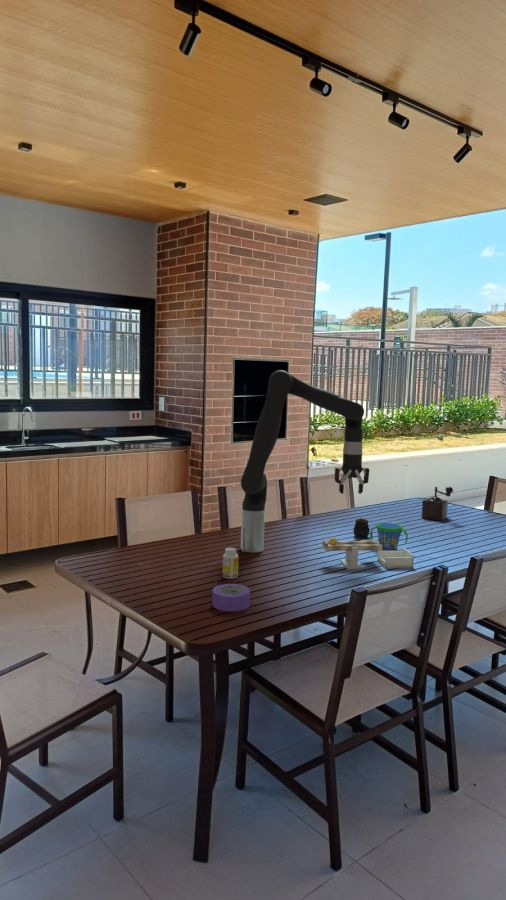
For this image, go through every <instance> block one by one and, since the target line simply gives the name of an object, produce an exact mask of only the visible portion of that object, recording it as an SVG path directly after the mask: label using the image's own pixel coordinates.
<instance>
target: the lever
mask: <svg viewBox="0 0 506 900" xmlns="http://www.w3.org/2000/svg"><path fill="white" fill-rule="evenodd" d="M321 543H322V545H321V546H322V548H323V549H324V550H325V552H334V551H335V552H340V551H341V552H342V551H343V552H344V551H345V552H346V551H351V548H352V547H358V552H359V551H363V552H364V551H368V552H369V551H370V552H371V551H375V552H376V551H383V550H382V545H379V541H378V540H374V539H360V541H356V540H355V541H353V540H352V541H337V544H336V545H330V543H329V541H326V539H322V542H321Z"/></svg>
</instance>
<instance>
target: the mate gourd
mask: <svg viewBox="0 0 506 900" xmlns="http://www.w3.org/2000/svg"><path fill="white" fill-rule="evenodd" d="M354 522H355V523H354V528H353V535H354V537H356V538H357V539H366V538H367V537H369V536H370V532H371V530H370V527H369V520H368V519H366V518H362V517H360V518H356V519H355V521H354Z"/></svg>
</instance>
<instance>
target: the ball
mask: <svg viewBox="0 0 506 900" xmlns="http://www.w3.org/2000/svg"><path fill="white" fill-rule="evenodd" d="M328 542H329V543H330V545H336V544H337V542H338V538H336V537H330V538H329V540H328Z"/></svg>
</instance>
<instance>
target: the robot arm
mask: <svg viewBox="0 0 506 900" xmlns="http://www.w3.org/2000/svg"><path fill="white" fill-rule="evenodd" d="M266 392H267V393H266V398H265V401H264V405H263V408H262V410H261V413H260V415H259V418H258V421H257V424H256V427H255V431H254V435H253V439H252V444H251V448H250V451H249V452H250V453H249V457H248V461H247V464H246V465H245V468H244V472H243V474H242V477H241V479H240V486H241V489H242V491H243V492H244V499H243V501H242V503H241V504H242V506H241V508H242V511H241V529H240V550H241V551H242V553H243V552H244V553H245V552H246V553H251V554H252V553H255V554H256V553H262V552H263V551H265V550H264V549H265V548H264V547H265V516H266V515H265V512H266V511H265V508H266V502H267V494H268V493H267V491H268V479H267V476H266V474H265V469H266V464H267V462H268V459H269V458H270V456H271V454H272V452H273V449H274V447H275V446H276V444H277V441H278V436H279V433H280V428H281V423H282V417H283V416H282V415H283V409H284V405H285V402H286V400H287V397H288V395H291V396H296V397H298V398H300V399H303V400H305V401H307V402H309V403H311V404H313V405H315V406H317V407H319V408H322V409H324V410H326V411H329V412H331V413H335V414H338V415H340V416H342V417H344V422H345V423H344V424H345V427H344V442H343V446H342V447H343V448H342V466H341V467H334V482H335V483H336V484H338V491H339V493H340V494H341V495H342V494H344V491H345V490H344V489H345V487H344V485H345V482H346V480H348V479H351V478H353V479H356V480H357V481H358V486H357V487H358V491H357V492H358V494H359V495H360V494H362V493H363V492H364V485H365V484H368V483H369V479H370V468H368V467H363V466H362V465H363V426H362V425H363V423H362V422H363V417H364V415H365V414H364V413H365V409H364V406H363V405H362V404H360V402H359V403H358V402H355V401H353V400H350V399H347V398H344V397H342V396H341V395H339V394H336V393H334V392H331V391H328V390H326V389H322V388H321V387H317V386H314V385H312V384H309V383H308V382H307V383H306V382H304V381H303V380H301V379H298V378H297V377H295V376H293V375H292V374H291V373H289V372H288V371H286V370H284V369H283V370H282V369H277V370H275V371H273V373H271V374H270V376H269V379H268V385H267V391H266ZM341 472H342V473H343V474H342V475H341V478H340V473H341ZM361 473H363V478H362V476H361Z"/></svg>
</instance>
